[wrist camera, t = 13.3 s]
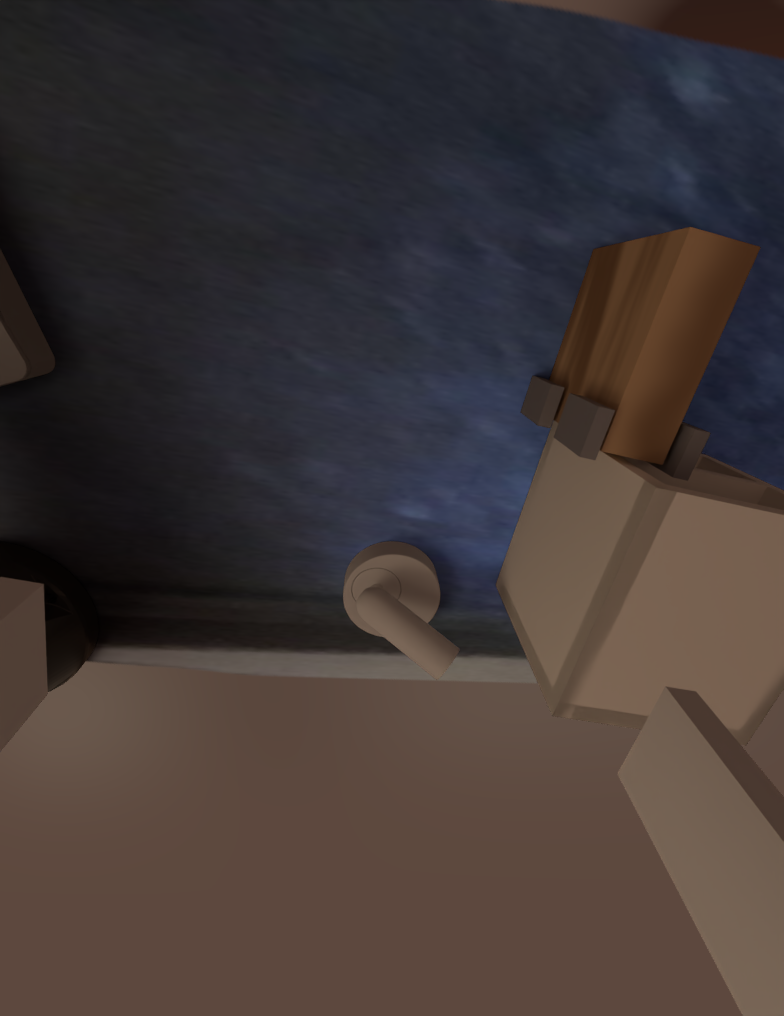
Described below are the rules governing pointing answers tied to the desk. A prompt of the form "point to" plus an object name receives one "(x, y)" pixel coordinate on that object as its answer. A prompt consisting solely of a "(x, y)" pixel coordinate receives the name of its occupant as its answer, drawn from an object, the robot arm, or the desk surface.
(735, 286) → the door
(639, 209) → the desk surface
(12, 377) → the electronic device
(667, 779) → the robot arm
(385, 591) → the wall hook
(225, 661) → the desk surface
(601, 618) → the cabinet
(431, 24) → the desk surface
